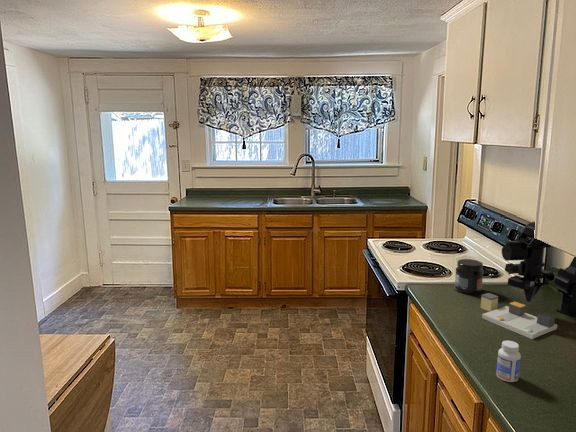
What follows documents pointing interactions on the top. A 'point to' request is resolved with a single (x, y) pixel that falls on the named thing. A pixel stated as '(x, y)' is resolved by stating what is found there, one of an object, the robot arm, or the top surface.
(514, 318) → the panel
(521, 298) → the top surface
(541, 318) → the plain toggle
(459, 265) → the supplement container
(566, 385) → the top surface
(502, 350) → the pill bottle
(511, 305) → the tagged toggle
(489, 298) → the block
